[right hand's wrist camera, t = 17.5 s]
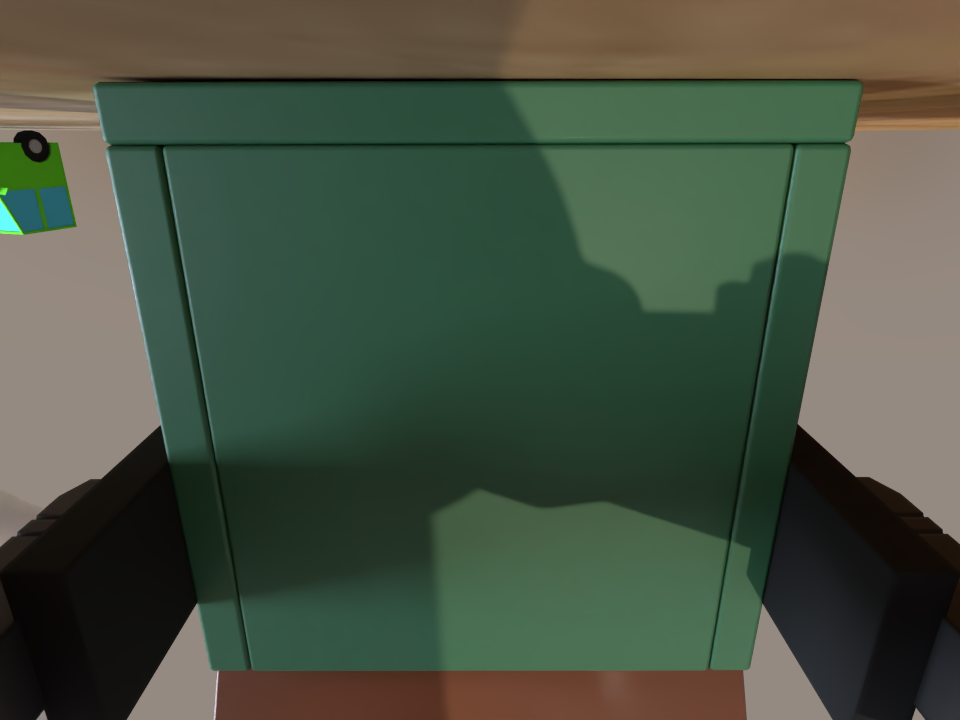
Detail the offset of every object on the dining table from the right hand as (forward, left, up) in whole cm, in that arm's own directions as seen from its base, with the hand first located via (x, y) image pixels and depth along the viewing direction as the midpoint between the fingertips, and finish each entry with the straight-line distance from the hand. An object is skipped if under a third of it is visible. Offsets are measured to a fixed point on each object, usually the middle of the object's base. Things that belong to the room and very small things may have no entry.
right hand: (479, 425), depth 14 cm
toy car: (-37, -62, -7) cm, 72 cm away
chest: (+1, -4, -7) cm, 8 cm away
